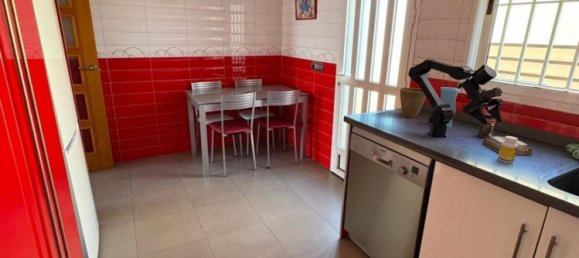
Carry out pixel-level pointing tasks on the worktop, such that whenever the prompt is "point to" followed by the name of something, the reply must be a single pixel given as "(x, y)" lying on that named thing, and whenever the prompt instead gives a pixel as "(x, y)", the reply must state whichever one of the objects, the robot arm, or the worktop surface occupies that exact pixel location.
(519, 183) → the worktop surface
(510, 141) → the supplement bottle
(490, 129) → the supplement bottle
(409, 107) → the plant pot
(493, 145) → the brick base
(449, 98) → the vase
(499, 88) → the robot arm
